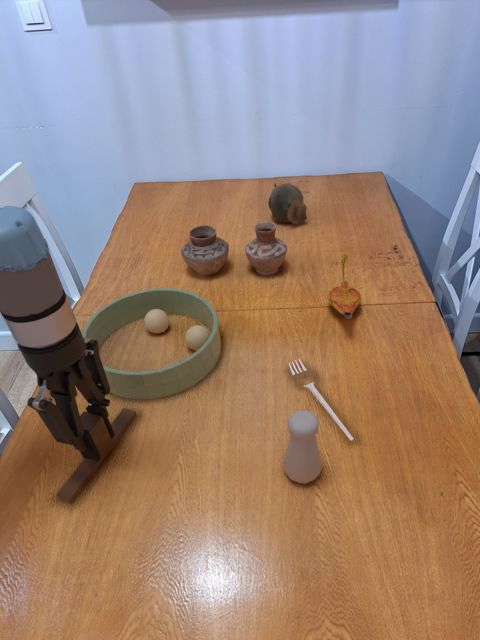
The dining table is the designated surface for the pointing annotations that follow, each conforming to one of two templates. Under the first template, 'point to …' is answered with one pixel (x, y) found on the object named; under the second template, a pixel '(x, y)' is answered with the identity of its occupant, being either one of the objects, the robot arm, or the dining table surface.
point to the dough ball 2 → (196, 337)
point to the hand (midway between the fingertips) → (99, 445)
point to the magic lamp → (344, 295)
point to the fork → (321, 399)
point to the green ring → (167, 377)
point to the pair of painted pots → (212, 251)
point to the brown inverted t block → (103, 446)
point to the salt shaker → (302, 447)
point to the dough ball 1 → (156, 321)
